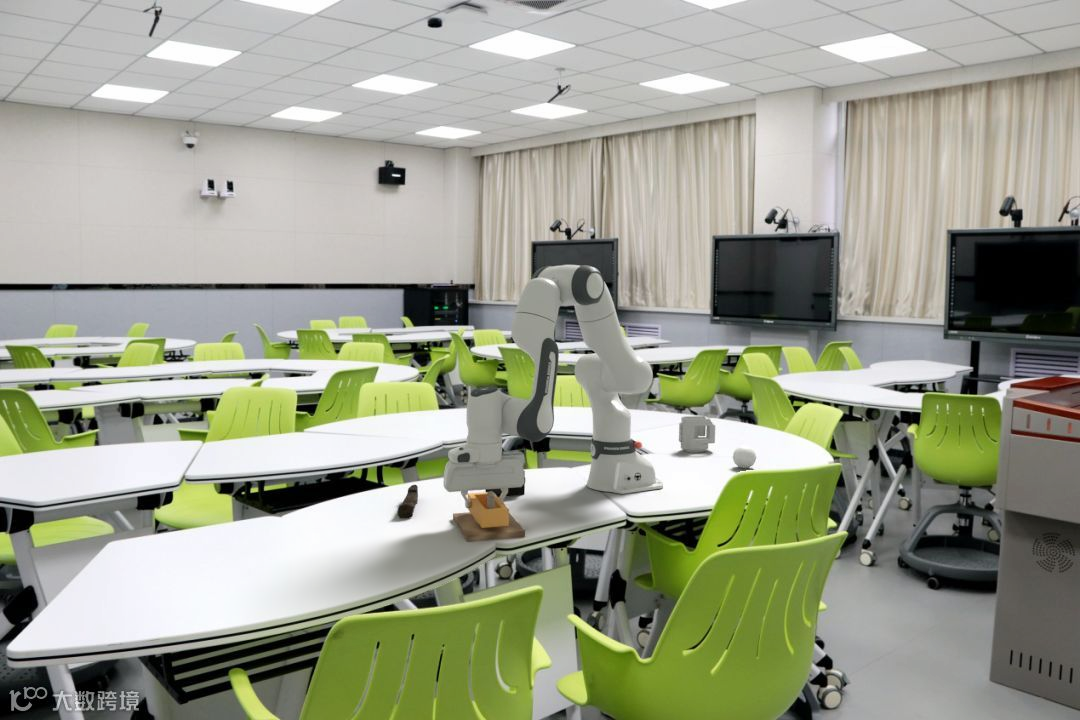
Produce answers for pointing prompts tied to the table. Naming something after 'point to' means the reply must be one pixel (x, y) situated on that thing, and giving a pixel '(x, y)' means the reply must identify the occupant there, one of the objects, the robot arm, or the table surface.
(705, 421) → the cable organizer
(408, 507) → the brown wooden log
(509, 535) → the board
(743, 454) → the grey rounded knob
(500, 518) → the small orange storage bin
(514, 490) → the digital camera
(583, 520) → the table surface
